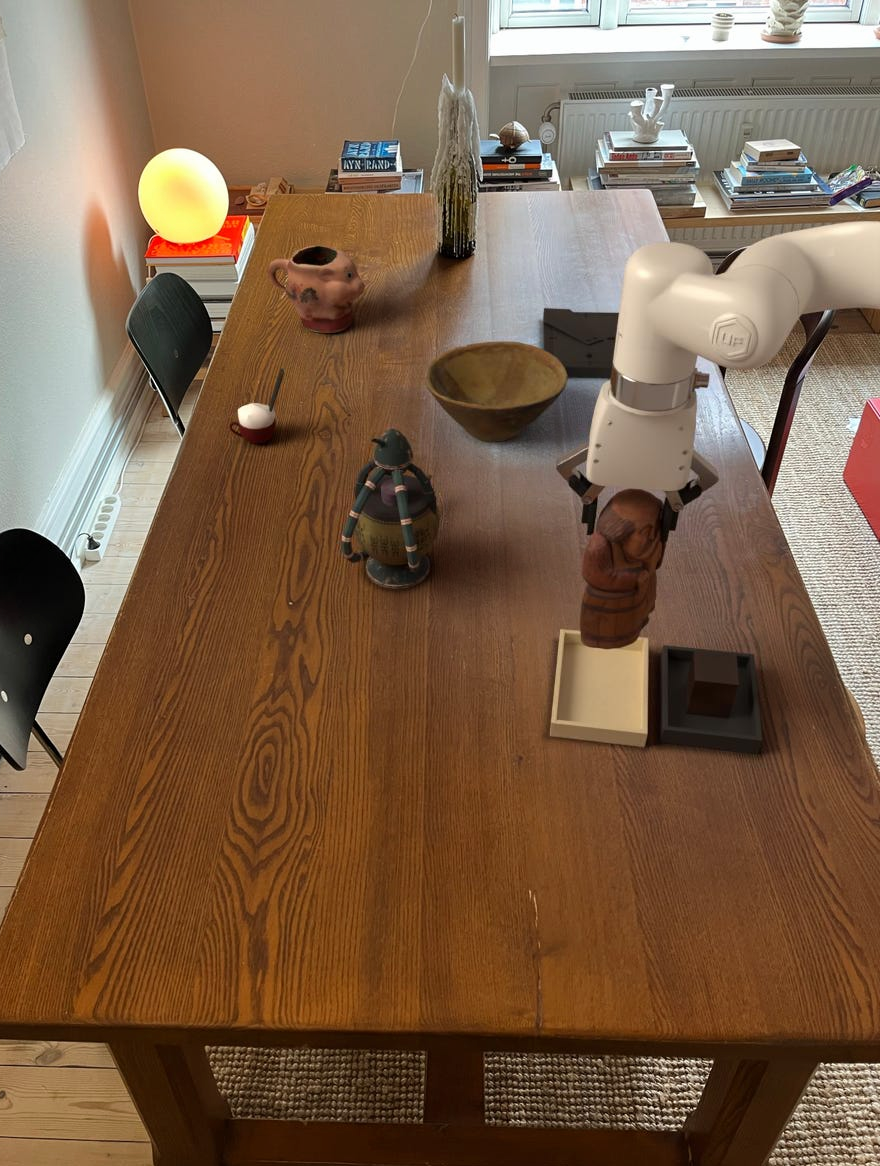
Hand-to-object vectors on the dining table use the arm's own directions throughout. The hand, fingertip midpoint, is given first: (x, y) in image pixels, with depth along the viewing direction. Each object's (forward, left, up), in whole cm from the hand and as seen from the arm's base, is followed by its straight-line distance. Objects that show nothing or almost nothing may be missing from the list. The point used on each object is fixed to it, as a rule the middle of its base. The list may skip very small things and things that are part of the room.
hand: (626, 529), depth 107 cm
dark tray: (-13, 0, -26) cm, 29 cm away
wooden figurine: (-1, 0, -14) cm, 14 cm away
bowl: (+20, -59, -26) cm, 67 cm away
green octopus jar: (+29, -24, -26) cm, 46 cm away
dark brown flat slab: (+6, -87, -26) cm, 91 cm away
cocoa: (+58, -50, -26) cm, 81 cm away
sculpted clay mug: (+58, -91, -26) cm, 111 cm away
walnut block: (-13, 0, -26) cm, 29 cm away
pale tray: (0, 0, -26) cm, 26 cm away
